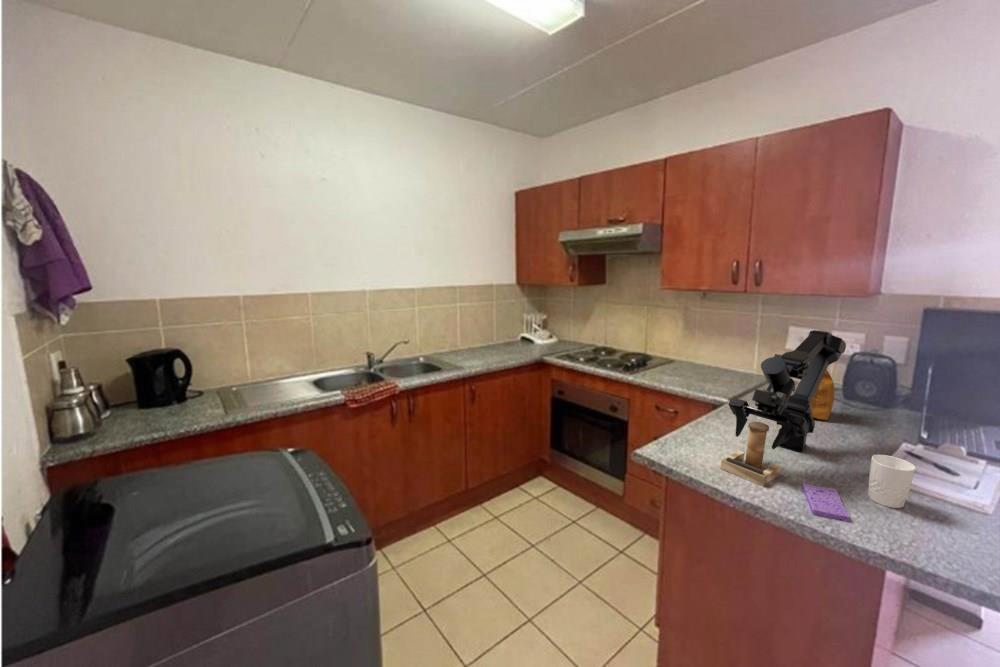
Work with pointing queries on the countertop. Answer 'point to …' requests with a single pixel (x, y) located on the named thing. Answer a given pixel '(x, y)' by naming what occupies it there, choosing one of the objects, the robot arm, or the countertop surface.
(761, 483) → the wooden tray
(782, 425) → the robot arm
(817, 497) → the sponges
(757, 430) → the bobbin
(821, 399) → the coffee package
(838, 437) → the countertop surface
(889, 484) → the white cup
